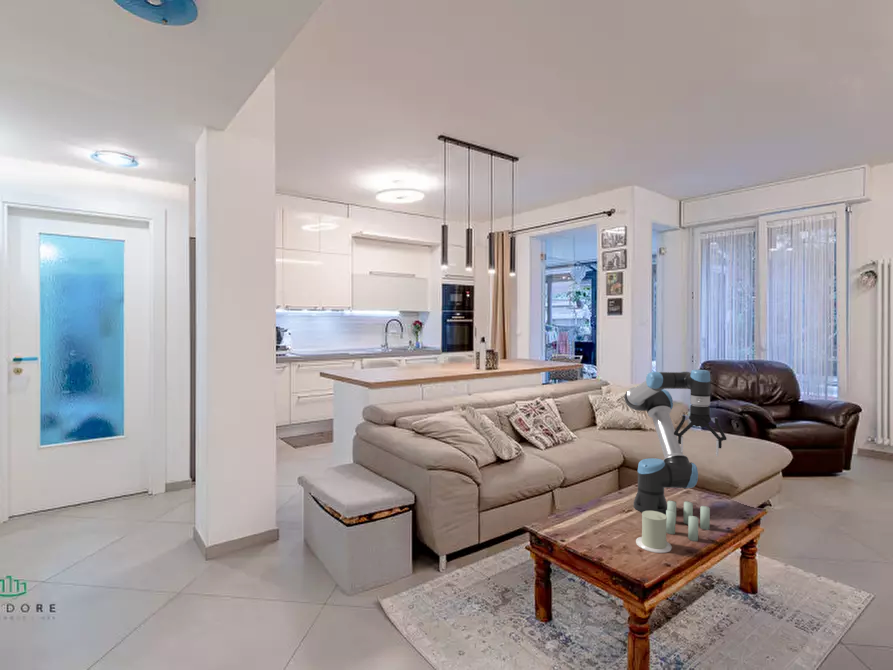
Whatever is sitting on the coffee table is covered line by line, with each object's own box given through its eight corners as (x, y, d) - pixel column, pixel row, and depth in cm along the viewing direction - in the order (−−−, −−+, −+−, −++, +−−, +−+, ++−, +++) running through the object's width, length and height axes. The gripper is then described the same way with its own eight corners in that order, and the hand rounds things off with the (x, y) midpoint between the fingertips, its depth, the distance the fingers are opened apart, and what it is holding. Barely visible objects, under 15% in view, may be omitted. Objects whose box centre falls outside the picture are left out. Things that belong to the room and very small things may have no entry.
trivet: (634, 548, 183) (634, 546, 183) (637, 535, 195) (637, 533, 195) (670, 555, 177) (670, 554, 177) (672, 542, 189) (672, 540, 189)
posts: (665, 535, 195) (665, 514, 194) (667, 517, 213) (667, 498, 213) (710, 544, 187) (711, 522, 187) (709, 525, 205) (709, 504, 205)
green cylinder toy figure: (655, 551, 180) (656, 520, 179) (636, 541, 188) (636, 511, 188) (671, 546, 184) (672, 515, 184) (652, 536, 192) (652, 507, 192)
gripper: (668, 404, 207) (667, 451, 207) (734, 409, 195) (733, 459, 195) (668, 401, 213) (668, 447, 214) (732, 406, 202) (731, 455, 202)
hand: (699, 453), depth 205 cm, fingers open, 13 cm apart
